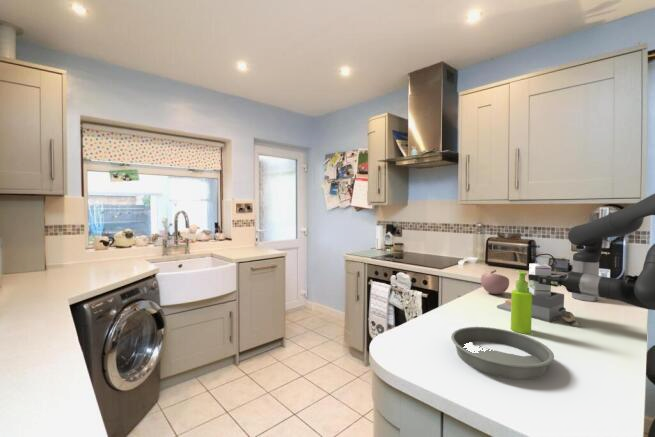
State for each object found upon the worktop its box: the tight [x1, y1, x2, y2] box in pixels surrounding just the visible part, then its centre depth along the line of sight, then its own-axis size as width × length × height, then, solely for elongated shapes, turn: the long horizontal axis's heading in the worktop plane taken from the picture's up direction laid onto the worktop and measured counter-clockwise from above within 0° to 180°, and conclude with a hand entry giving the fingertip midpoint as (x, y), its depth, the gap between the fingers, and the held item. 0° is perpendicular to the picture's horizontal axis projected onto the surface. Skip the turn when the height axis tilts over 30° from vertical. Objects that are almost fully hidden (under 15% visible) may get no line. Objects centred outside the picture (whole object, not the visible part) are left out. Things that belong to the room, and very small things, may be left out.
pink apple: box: [480, 269, 510, 295], centre depth 150 cm, size 12×12×12 cm
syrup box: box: [528, 262, 552, 297], centre depth 121 cm, size 6×6×14 cm
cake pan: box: [450, 326, 555, 380], centre depth 86 cm, size 25×25×4 cm
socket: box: [496, 287, 565, 323], centre depth 124 cm, size 12×19×8 cm, turn 32°
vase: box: [558, 307, 581, 328], centre depth 111 cm, size 5×5×6 cm
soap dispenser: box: [510, 270, 533, 335], centre depth 106 cm, size 6×7×20 cm
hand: (534, 275), depth 122 cm, fingers closed on syrup box, 8 cm apart
